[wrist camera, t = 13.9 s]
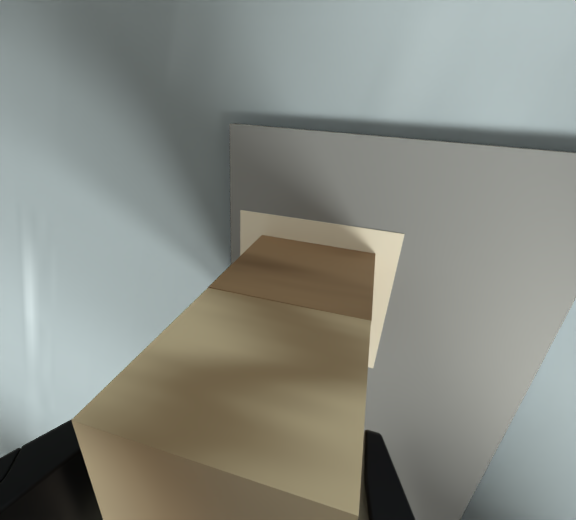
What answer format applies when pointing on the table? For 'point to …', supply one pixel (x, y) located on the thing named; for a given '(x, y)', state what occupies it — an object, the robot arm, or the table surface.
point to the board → (428, 278)
